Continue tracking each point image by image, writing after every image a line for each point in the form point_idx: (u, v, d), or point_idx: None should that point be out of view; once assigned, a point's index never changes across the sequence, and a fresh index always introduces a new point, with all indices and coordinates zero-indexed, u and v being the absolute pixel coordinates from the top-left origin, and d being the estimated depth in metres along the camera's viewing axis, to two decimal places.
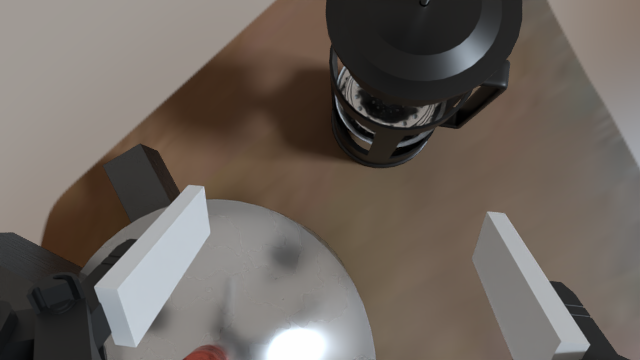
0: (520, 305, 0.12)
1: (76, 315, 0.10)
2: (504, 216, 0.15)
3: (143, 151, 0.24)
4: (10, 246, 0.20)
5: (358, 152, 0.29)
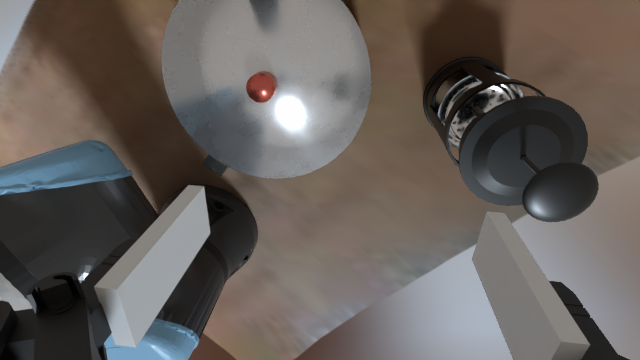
0: (520, 305, 0.12)
1: (76, 315, 0.10)
2: (504, 216, 0.15)
3: None
4: None
5: (431, 98, 0.38)
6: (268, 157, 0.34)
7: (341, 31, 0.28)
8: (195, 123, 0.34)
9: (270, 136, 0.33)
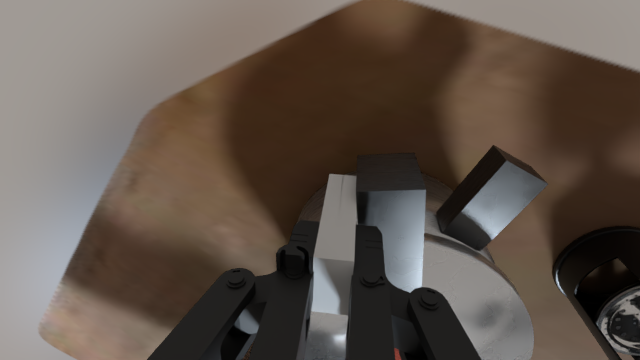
0: None
1: (301, 287, 0.11)
2: (355, 178, 0.17)
3: (539, 191, 0.21)
4: None
5: (573, 284, 0.31)
6: None
7: (496, 304, 0.22)
8: None
9: None
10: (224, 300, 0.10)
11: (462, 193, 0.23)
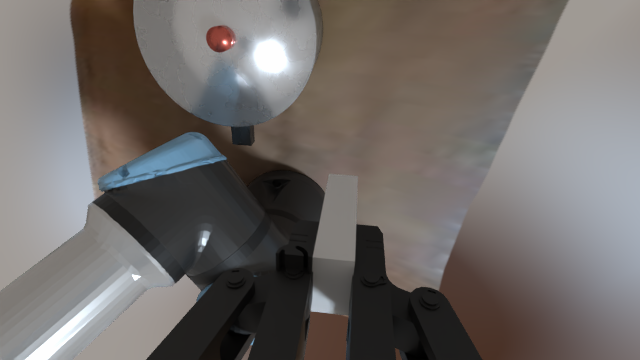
0: None
1: (300, 287, 0.11)
2: (355, 178, 0.17)
3: None
4: None
5: None
6: (233, 106, 0.39)
7: None
8: (167, 77, 0.38)
9: (232, 86, 0.38)
10: (223, 300, 0.10)
11: None
